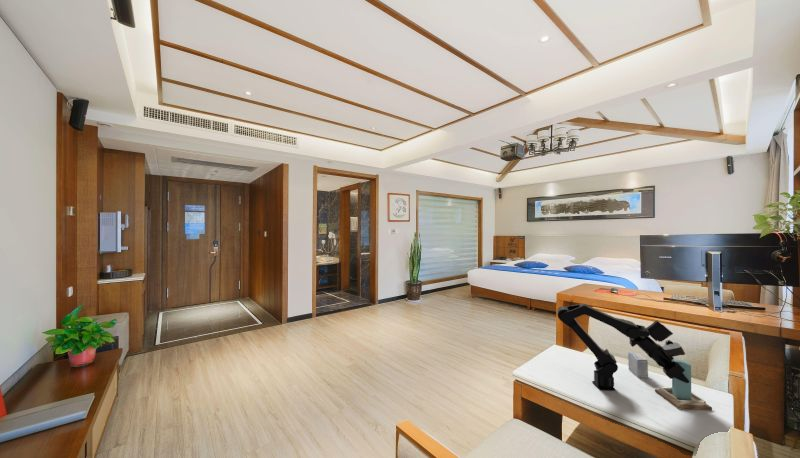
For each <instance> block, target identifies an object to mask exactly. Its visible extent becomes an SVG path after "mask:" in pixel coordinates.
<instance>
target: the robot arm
mask: <svg viewBox="0 0 800 458" xmlns="http://www.w3.org/2000/svg"><path fill="white" fill-rule="evenodd" d="M556 313H557V318H558V320H560V321H561V322H562V323H563V324H564V325H566V327H568V328H570V329H571V330H572V331H573V332H574V334H576V336H577V337H578V338H579V339H580V340H581V342H583V343H584V345H585V346H586V347H587V348H588V349H589V350H590V351H591V352H592V354H593V355H594V356H595V359H597V360H596V361H595V362H594V363H593V365H594V367H595V370H593V380H592V381H591V382H592V383H593V385H594V386H596V388H597V389H598V390H601V391H602V390H603V391H605V390H606V391H615V390H616V388H615V378H614V373H616V372H617V371H618V370H619V366H618V364H617V363H618V361H617V360H616V358H615V356H614V355H613V354H611V352H610V351H609V349H607V348H605V350H604V349H603V348H602V347H600V346H599V344H598V343H597V342H596V340H594V339H593V338H592V337H591V336H590V334H589V333H588V332H587V331H586V330H585V329H584V327H583V326H581V324H580V323H579V322H578V320H577V318H579V317H582V316H588V317H589V318H591V319H592V318H593V319H594V320H597V321H599V322H601V323H603V324H606V325H608V326H610V327H612V328H613V329H615V330H617V331H618V332H619V333H620V334H621V335H624V336H625V337H627V338H629V344H630V346H631V347H635V346H638V347H639V348H640V349H641V350H642V351H644V353H646V355H647V356H648V357H649V359H652V360H653V361H654V362H655V363H656V364H657V366H659V367H661V368H662V371H663V373H664V374H665V376H667V377H668V378H669V379H670V380H672V379H673V378H676V379H679V380H681V381H683V382H685V383H689V380H688V379H687V378H686V376H685V375H684V374H683V373H682V372H684V371H685V369H684V368H683V367H682V366H681V365H680V364H679V363H678V362H672V359H675V357H677V356H685V355H686V352H685V350H684V348H683V347H682V345H680V344H679V343H678V342H676V341H675V342H673V341H672V340H670V339H668V338H669V337H670V336H673V335H674V333H673V332H672V331H671V330H670V329H669V328H668V327H666V326H665V325H664V324H662V323H661V322H660V321H659V320H656V319H655V320H654V321H653V322H652V323H651V324H650V325H648V326H647V327H645V326H644V325H640V324H636V323H635V322H633V321H631V320H627V319H624V318H619V317H615V316H612V315H611V314H608V313H605V312H604V311H601V310H598V309H597V308H595V307H592V306H590V305H588V304H586V303H579V304H574V305H567V306H566V305H562V306H559V307H557V310H556ZM664 340H665V341H664ZM655 341H656V342H659V343H660V342H661V343H663V341H664V342H665V343H664V345H662V346H661V345H660V344H658V343H656V342H655Z"/></svg>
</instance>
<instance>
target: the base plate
mask: <svg viewBox="0 0 800 458" xmlns="http://www.w3.org/2000/svg"><path fill="white" fill-rule="evenodd" d="M654 393H656V394H657V395H659V396H660V397H661V398H663V399H664V400H666V401H667V402H668V403H670V404H671V405H672V406H673V407H675V408H676V409H678V410H700V411H703V410H704V411H705V410H706V411H712V410H713V407H712V406H711V405H709V404H707V401H705V400H704V399H703V398H701V397H700V396H698V395H696V394H695V393H694V392H692V391H691V400H686V399H680V398H676V396H675V395H674V394H673V392H672V386H671V387H669V386H668V387H666V386H665V387H664V386H660V387H659V389H658V388H654ZM707 409H708V410H707ZM709 409H711V410H709Z"/></svg>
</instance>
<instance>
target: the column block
mask: <svg viewBox="0 0 800 458" xmlns="http://www.w3.org/2000/svg"><path fill="white" fill-rule="evenodd" d="M672 362H678V363H679V364H680V365H681V366H682V367H683V368H684V369H685V371H684V372H682V373H683V374H684V375H685V376H686V378H687V379H688V380H689V383H685V382H683V381H681V380H679V379H676V378H673V379H671V388H672V392H673V394H674V395H675V396H676V398H680V399H686V400H691V392H692V365H691V364H690V363H689V362H688V361H687V360H685V359H676V358H674V359H672Z"/></svg>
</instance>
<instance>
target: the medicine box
mask: <svg viewBox="0 0 800 458" xmlns="http://www.w3.org/2000/svg"><path fill="white" fill-rule="evenodd" d="M627 353H628V354H627V357H628V359H627V360H628V365H627V366H628V371H630V373H632V374H633V375H634V376H636V377H637V378H638V379H639V378H642V379H648V378H649V363H648V362H649V361H648V359H647V358H645V357H644V356H643V355H641V354H640V353H638V352H627Z"/></svg>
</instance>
